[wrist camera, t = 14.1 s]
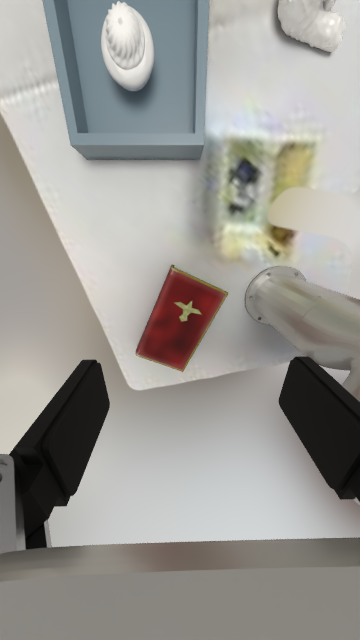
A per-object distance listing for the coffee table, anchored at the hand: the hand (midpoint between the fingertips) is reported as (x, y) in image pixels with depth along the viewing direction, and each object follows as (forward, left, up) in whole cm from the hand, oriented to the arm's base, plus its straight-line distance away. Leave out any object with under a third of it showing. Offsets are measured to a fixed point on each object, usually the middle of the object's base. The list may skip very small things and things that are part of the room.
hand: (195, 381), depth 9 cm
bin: (+6, -27, -30) cm, 41 cm away
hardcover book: (+1, +10, -31) cm, 33 cm away
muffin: (+6, -27, -30) cm, 40 cm away
